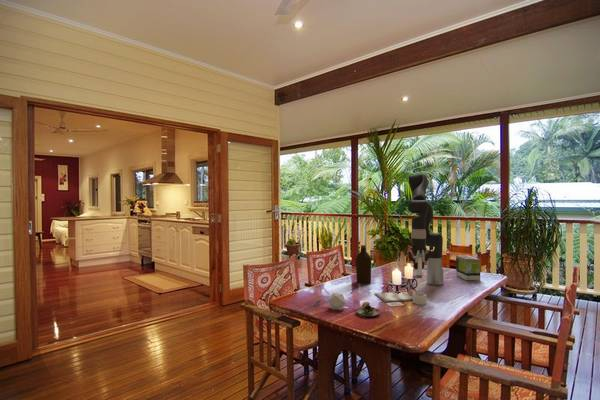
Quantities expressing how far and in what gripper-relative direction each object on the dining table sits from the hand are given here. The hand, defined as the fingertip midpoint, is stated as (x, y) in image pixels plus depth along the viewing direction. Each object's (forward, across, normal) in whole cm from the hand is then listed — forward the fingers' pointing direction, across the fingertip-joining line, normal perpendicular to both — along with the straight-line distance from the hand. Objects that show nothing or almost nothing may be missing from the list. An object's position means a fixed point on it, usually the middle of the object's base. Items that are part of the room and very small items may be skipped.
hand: (419, 268), depth 176 cm
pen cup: (+18, 0, 0) cm, 18 cm away
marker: (+5, 0, 0) cm, 5 cm away
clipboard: (+18, +8, -11) cm, 23 cm away
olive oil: (+19, +15, -45) cm, 51 cm away
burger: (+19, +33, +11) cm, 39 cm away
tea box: (+19, -59, -42) cm, 74 cm away
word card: (+18, +14, 0) cm, 23 cm away
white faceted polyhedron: (+19, +46, +1) cm, 50 cm away
